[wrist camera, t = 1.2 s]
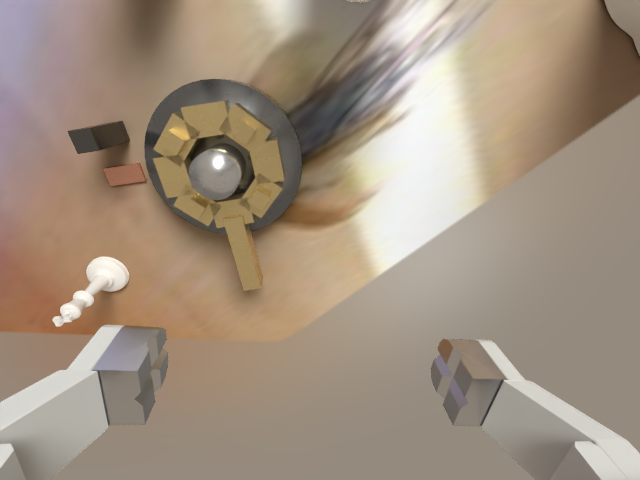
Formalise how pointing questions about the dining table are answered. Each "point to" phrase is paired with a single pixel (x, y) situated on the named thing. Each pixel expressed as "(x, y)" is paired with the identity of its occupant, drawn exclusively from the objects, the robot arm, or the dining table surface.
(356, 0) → the vodka
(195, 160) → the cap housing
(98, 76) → the dining table surface
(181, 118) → the gold ring with handle
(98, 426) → the robot arm
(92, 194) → the dining table surface
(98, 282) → the chess piece
